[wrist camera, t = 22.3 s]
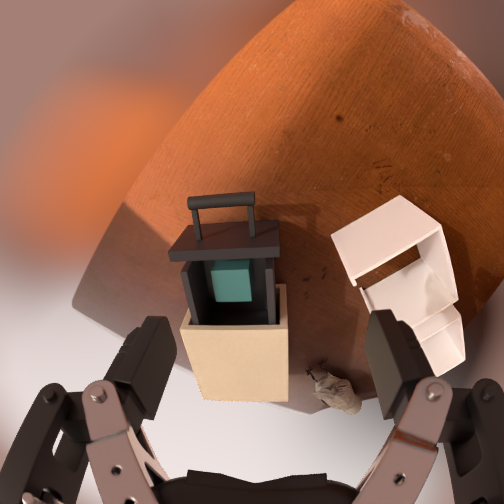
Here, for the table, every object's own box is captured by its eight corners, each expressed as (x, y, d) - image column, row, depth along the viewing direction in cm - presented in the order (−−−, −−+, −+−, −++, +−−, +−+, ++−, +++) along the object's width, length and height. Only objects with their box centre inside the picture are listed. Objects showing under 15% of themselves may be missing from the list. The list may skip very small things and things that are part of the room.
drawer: (181, 188, 34) (158, 207, 27) (276, 180, 33) (276, 198, 26) (204, 310, 42) (192, 346, 35) (282, 308, 41) (283, 346, 34)
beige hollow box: (197, 285, 41) (179, 329, 33) (285, 283, 40) (288, 329, 31) (213, 355, 48) (203, 399, 39) (287, 355, 46) (288, 401, 38)
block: (221, 283, 38) (216, 302, 34) (217, 253, 36) (210, 270, 32) (254, 282, 38) (252, 301, 34) (251, 252, 36) (248, 269, 32)
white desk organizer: (439, 317, 41) (465, 360, 31) (387, 346, 45) (405, 393, 35) (399, 194, 33) (440, 224, 23) (330, 234, 36) (349, 278, 27)
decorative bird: (343, 400, 52) (348, 428, 45) (299, 366, 48) (301, 399, 41) (365, 389, 50) (372, 417, 43) (325, 352, 46) (330, 385, 39)
